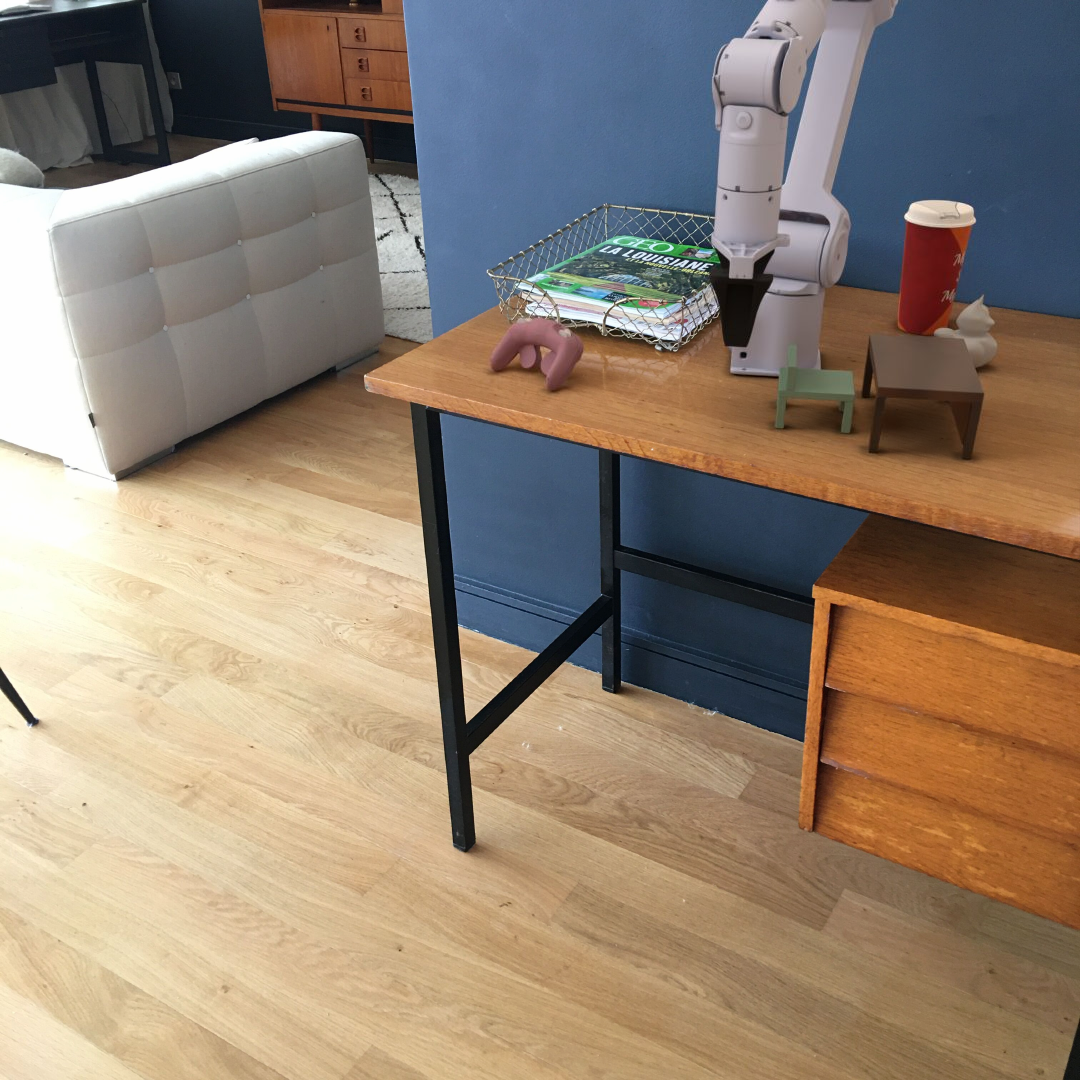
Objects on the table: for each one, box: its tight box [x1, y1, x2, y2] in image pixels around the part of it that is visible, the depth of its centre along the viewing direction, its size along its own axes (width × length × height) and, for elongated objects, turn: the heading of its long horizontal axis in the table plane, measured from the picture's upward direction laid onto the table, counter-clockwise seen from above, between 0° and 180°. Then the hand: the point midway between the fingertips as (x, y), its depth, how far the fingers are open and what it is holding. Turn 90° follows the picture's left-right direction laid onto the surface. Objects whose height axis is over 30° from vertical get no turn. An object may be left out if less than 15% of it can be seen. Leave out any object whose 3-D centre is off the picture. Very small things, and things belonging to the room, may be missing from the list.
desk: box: [860, 333, 985, 460], centre depth 104 cm, size 9×14×6 cm, turn 169°
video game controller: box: [489, 317, 585, 391], centre depth 118 cm, size 10×5×7 cm, turn 47°
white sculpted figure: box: [933, 293, 998, 369], centre depth 117 cm, size 5×7×8 cm
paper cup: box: [897, 199, 977, 336], centre depth 126 cm, size 8×8×14 cm
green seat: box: [774, 344, 856, 434], centre depth 106 cm, size 7×6×6 cm
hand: (737, 331), depth 105 cm, fingers open, 7 cm apart
